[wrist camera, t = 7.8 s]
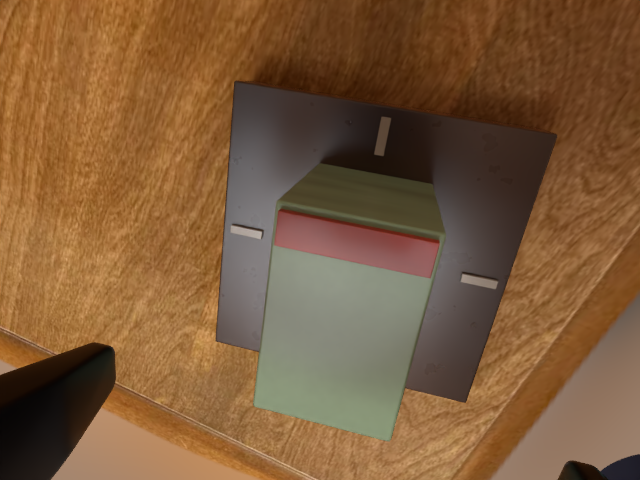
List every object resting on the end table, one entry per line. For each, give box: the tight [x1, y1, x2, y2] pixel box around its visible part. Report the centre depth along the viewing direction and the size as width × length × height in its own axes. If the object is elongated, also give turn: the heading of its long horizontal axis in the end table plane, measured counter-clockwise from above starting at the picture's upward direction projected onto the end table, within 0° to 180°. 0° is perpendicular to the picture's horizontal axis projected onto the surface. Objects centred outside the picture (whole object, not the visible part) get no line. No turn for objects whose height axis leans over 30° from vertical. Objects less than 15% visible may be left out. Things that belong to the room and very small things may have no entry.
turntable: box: [216, 81, 557, 403], centre depth 19 cm, size 12×12×2 cm
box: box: [253, 163, 446, 441], centre depth 15 cm, size 7×4×6 cm, turn 171°
